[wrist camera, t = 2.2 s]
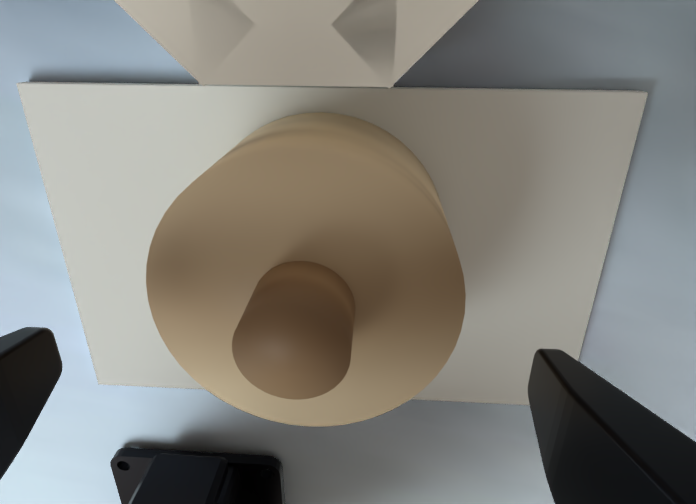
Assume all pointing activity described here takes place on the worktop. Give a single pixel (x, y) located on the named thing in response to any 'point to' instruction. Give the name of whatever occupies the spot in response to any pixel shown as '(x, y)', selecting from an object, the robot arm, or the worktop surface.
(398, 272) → the lid
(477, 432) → the worktop surface
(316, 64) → the bowl
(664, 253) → the worktop surface
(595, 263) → the mat
